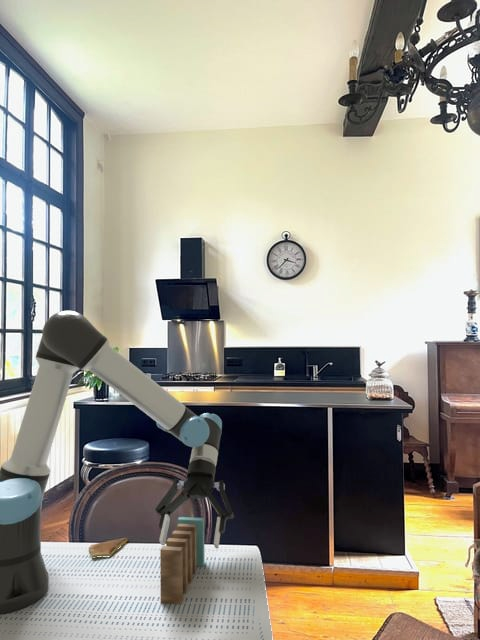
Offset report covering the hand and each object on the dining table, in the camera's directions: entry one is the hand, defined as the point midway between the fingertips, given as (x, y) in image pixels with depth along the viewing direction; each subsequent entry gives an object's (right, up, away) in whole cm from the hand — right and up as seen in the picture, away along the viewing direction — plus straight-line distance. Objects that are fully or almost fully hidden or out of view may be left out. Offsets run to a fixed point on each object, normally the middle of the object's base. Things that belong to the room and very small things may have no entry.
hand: (188, 544), depth 108 cm
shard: (-24, -7, +11) cm, 27 cm away
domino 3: (-1, -5, -6) cm, 8 cm away
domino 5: (-2, -5, -14) cm, 15 cm away
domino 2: (0, -6, -2) cm, 6 cm away
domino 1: (0, -6, +2) cm, 6 cm away
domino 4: (-1, -5, -10) cm, 11 cm away
